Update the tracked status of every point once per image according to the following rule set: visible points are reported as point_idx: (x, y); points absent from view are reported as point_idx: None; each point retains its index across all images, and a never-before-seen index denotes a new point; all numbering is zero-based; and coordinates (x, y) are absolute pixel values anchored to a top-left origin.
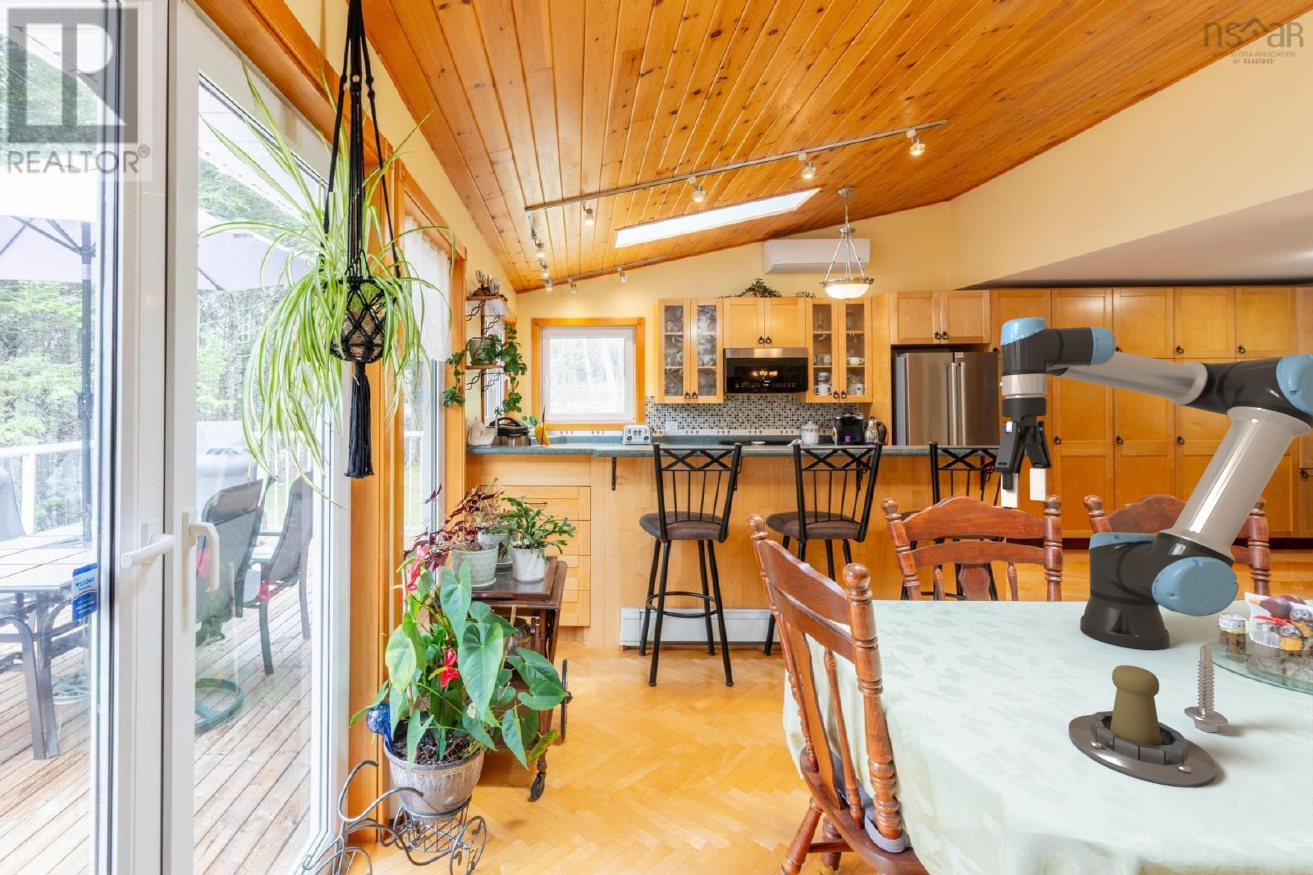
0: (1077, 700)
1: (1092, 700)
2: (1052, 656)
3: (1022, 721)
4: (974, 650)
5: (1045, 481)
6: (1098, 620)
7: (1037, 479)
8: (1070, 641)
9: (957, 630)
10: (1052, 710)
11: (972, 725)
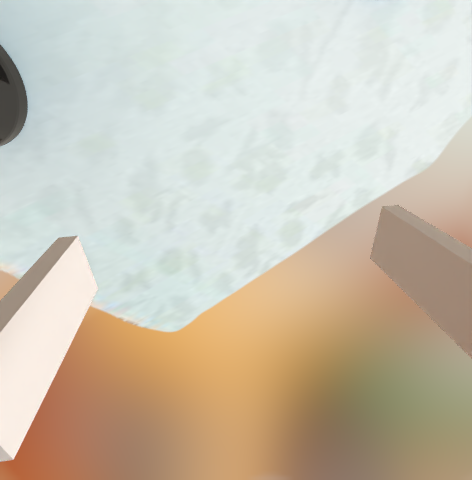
0: (291, 29)
1: (276, 14)
2: (164, 120)
3: (396, 51)
4: (233, 191)
5: (11, 305)
6: (1, 107)
7: (36, 347)
8: (76, 130)
9: (185, 238)
10: (344, 39)
11: (437, 84)
